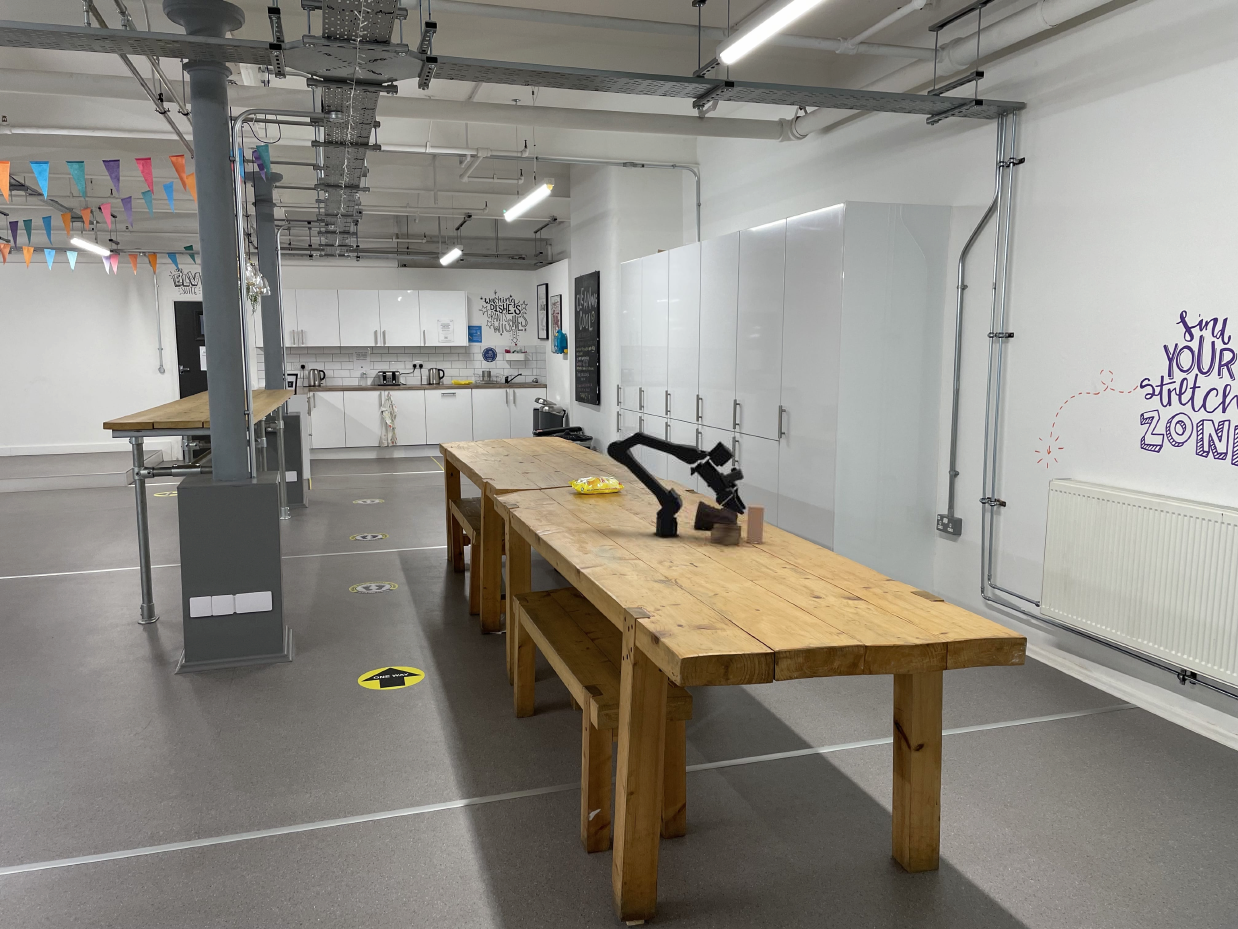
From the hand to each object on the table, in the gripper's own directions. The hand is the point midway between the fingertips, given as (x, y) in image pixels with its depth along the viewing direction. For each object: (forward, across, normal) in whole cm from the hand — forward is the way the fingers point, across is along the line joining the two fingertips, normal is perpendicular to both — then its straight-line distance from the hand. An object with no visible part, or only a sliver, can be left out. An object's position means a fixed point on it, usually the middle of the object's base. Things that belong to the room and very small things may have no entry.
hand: (744, 511), depth 283 cm
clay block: (+10, 0, +4) cm, 11 cm away
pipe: (0, +20, +15) cm, 25 cm away
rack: (+3, 0, +11) cm, 11 cm away
